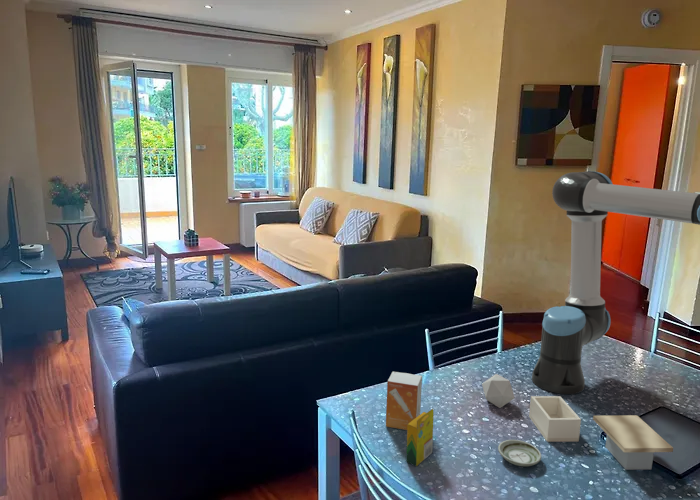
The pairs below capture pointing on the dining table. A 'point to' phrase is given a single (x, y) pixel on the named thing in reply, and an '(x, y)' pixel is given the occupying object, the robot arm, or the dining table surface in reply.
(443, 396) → the dining table surface
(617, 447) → the grey rectangular block
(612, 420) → the sheet
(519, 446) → the saucer
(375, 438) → the dining table surface
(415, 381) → the small box
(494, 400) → the die
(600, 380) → the dining table surface
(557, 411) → the open beige tray
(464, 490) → the dining table surface
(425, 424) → the crayon box
